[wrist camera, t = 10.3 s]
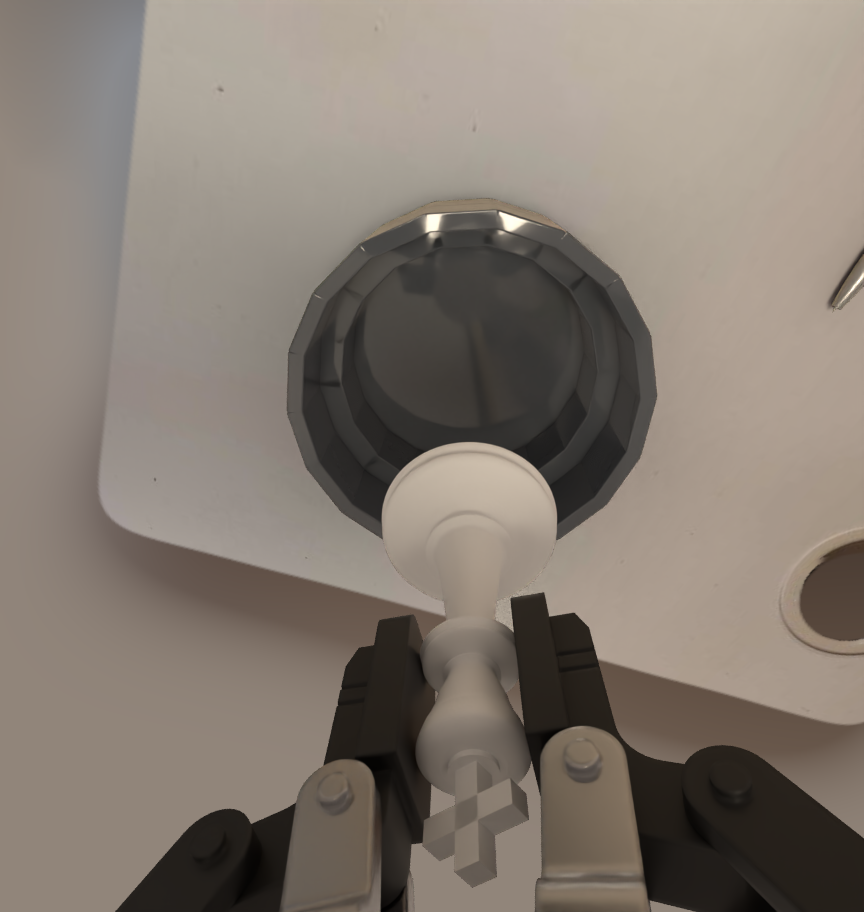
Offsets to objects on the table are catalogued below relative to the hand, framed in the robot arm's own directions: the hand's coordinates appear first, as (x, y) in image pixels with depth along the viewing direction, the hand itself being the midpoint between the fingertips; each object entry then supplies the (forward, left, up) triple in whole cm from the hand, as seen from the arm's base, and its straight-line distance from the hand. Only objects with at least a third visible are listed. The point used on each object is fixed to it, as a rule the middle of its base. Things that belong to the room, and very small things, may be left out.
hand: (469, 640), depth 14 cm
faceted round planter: (0, 0, -23) cm, 23 cm away
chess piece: (0, 0, -5) cm, 5 cm away
